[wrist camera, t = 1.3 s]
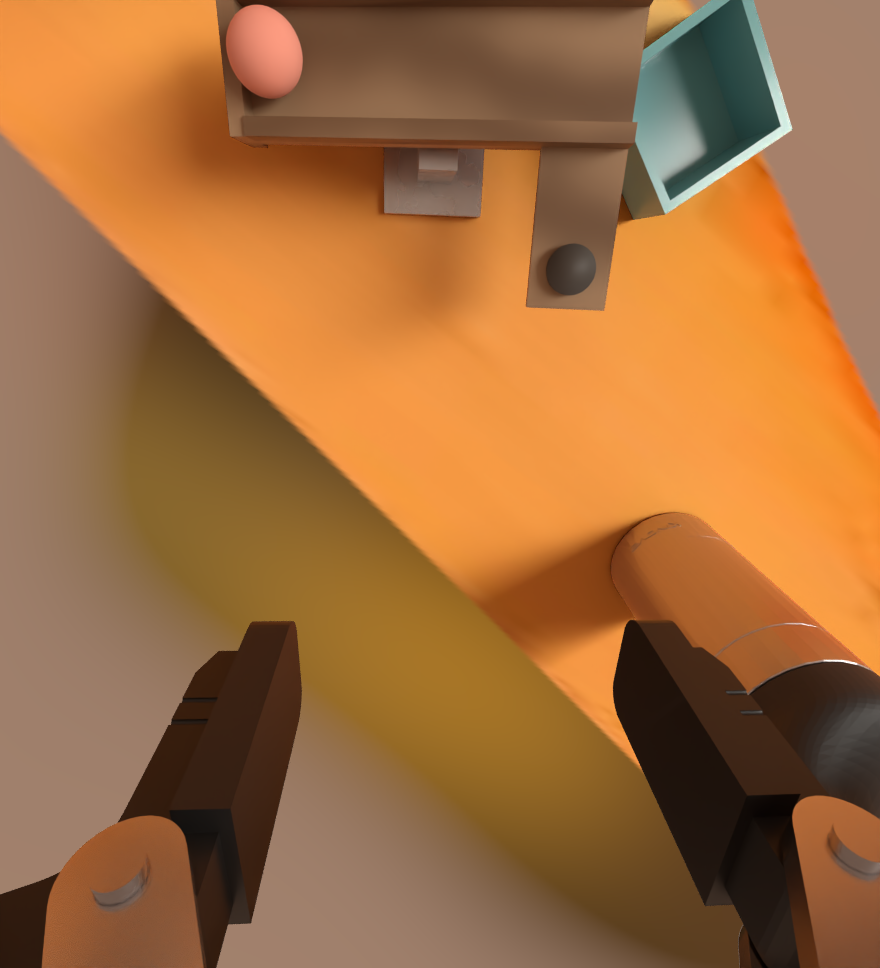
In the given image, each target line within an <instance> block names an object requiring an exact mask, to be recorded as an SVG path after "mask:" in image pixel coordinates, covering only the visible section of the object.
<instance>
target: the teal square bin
mask: <svg viewBox="0 0 880 968" xmlns="http://www.w3.org/2000/svg"><path fill="white" fill-rule="evenodd" d="M632 122H638V124H637V131H636V137H635V144H633V145H632V146H631V147H630V148H629V149H628V154H627V161H626V168H625V174H624V181H623V188H622V195H623V197H624V199H625V202H626V204H627V206H628V209H629V211H630V213H631V215H632V218H633V220H635V219H641V218H647V217H653V216H659V215H665V214H667V213H668V212H670V211H671V210H673V209H674V208H676V207H677V206H679V205H680V204H682V203H683V202H685V201H686V200H688V199H689V198H691V197H692V196H694V195H695V194H697V193H698V192H700V191H701V190H703V189H704V188H706V187H707V186H709V185H710V184H712V183H713V182H715V181H716V180H718V179H719V178H721V177H722V176H724V175H725V174H727V173H728V172H730V171H731V170H733V169H734V168H736V167H737V166H739V165H740V164H742V163H743V162H745V161H746V160H748V159H749V158H751V157H752V156H754V155H755V154H757V153H758V152H760V151H761V150H763V149H764V148H766V147H767V146H769V145H770V144H772V143H773V142H775V141H776V140H778V139H779V138H781V137H782V136H784V135H785V134H787V133H788V132H789V131H791V130H792V126H791V123H790V120H789V117H788V113H787V110H786V106H785V103H784V100H783V96H782V93H781V90H780V87H779V83H778V80H777V77H776V74H775V70H774V67H773V63H772V61H771V57H770V54H769V50H768V47H767V44H766V41H765V37H764V34H763V30H762V27H761V24H760V21H759V17H758V14H757V11H756V8H755V4H754V1H753V0H711V1H710V2H708V3H707V4H706V5H704V6H703V7H702V8H700V9H699V10H697V11H696V12H695V13H693V14H692V15H691V16H689V17H688V18H686V19H685V20H684V21H682V22H681V23H680V24H678V25H677V26H676V27H674V28H673V29H671V30H670V31H669V32H667V33H666V34H665V35H663V36H662V37H660V38H659V39H658V40H656V41H655V42H654V43H652V44H651V45H650V46H648V47H647V48H645V49H644V50H643V54H642V61H641V68H640V74H639V81H638V88H637V94H636V101H635V108H634V114H633V121H632Z"/></svg>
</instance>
